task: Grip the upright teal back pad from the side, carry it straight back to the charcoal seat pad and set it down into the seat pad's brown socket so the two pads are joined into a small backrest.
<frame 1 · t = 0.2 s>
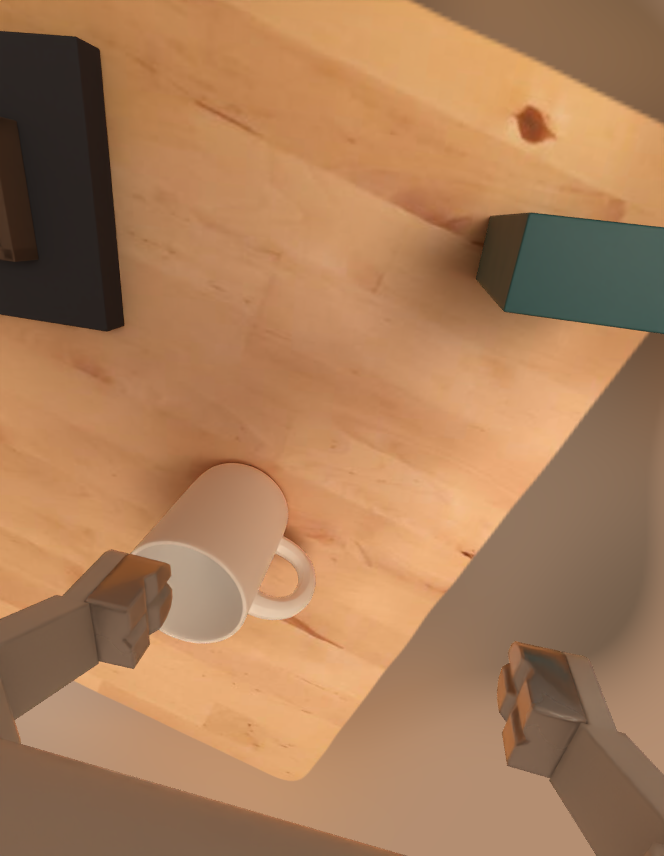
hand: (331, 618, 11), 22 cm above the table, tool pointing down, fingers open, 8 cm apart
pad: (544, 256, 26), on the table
mug: (263, 512, 38), on the table
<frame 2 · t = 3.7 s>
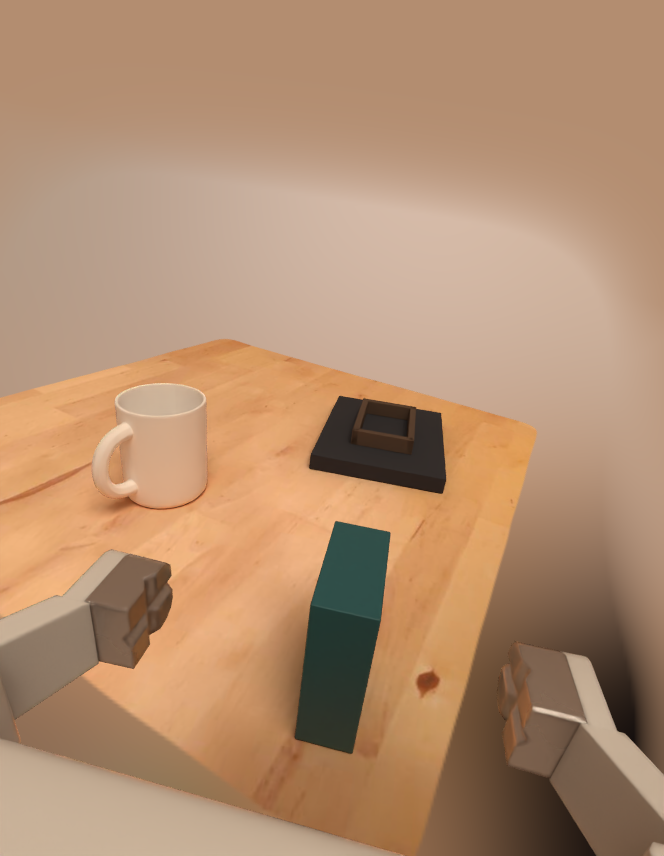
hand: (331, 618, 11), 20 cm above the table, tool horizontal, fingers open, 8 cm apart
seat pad: (382, 443, 63), on the table
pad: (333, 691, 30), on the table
mug: (152, 497, 47), on the table
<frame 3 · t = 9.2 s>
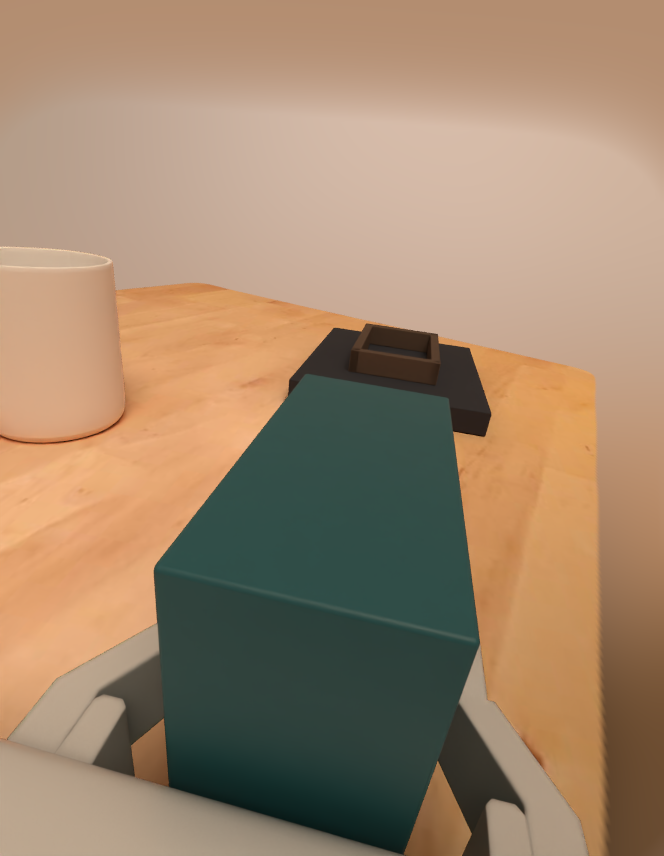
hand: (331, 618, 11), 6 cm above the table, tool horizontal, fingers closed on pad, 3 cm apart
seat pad: (392, 380, 46), on the table
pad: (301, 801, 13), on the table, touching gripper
mug: (32, 428, 30), on the table
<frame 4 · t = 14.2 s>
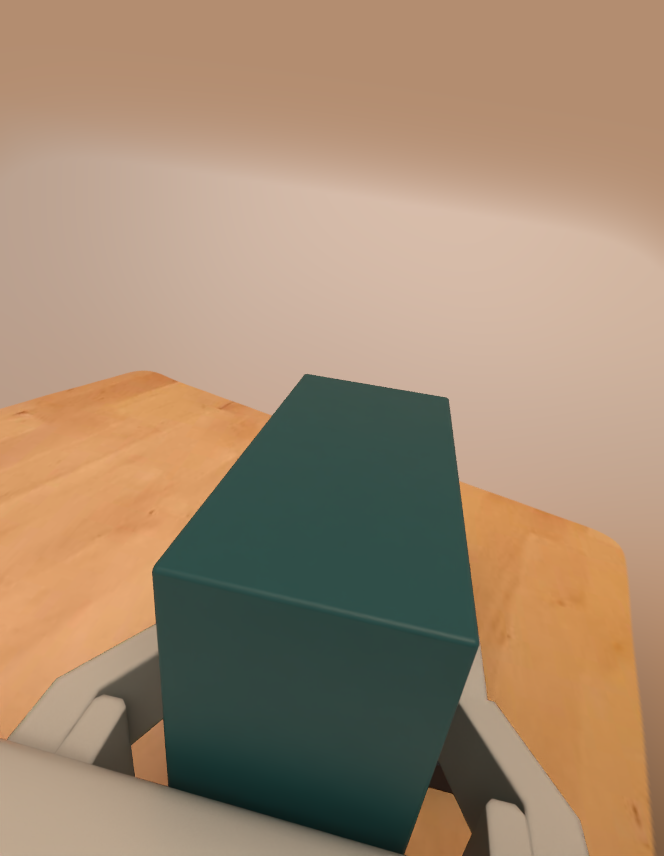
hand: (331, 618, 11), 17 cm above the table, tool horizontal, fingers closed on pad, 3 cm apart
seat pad: (348, 610, 33), on the table
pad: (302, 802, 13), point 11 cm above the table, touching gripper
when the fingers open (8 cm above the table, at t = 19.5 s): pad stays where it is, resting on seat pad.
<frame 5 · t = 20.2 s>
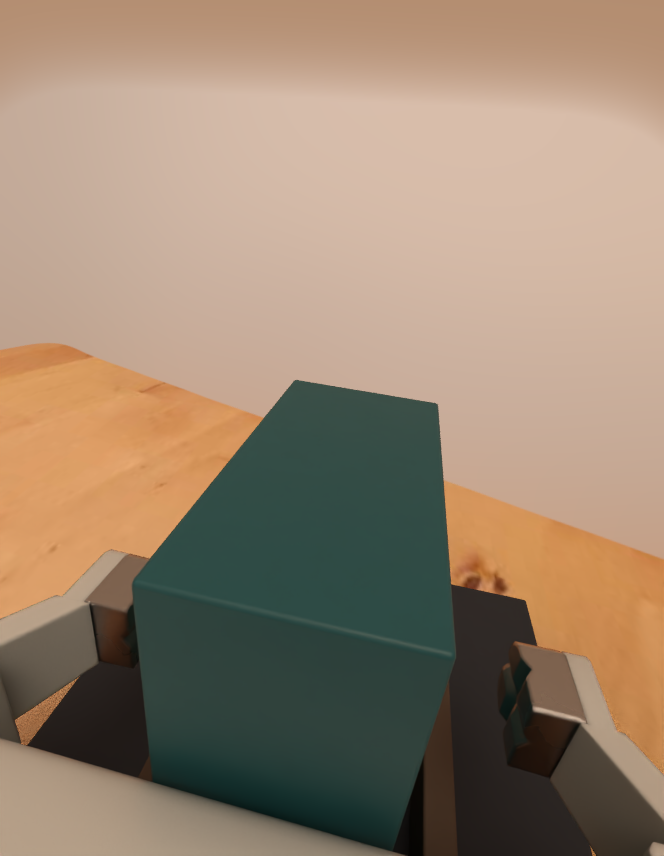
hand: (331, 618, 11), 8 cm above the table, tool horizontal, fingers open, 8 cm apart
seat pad: (293, 842, 13), on the table
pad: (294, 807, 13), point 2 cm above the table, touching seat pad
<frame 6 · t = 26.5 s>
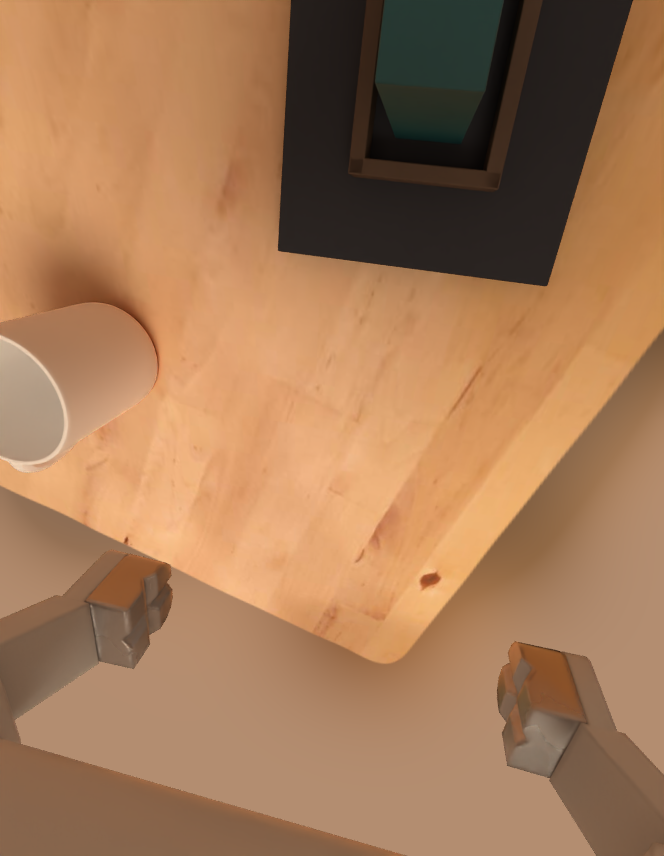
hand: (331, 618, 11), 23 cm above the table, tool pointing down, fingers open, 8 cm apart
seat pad: (442, 69, 25), on the table
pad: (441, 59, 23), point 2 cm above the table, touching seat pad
mug: (108, 373, 36), on the table
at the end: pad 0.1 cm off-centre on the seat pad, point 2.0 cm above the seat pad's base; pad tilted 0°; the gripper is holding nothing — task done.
